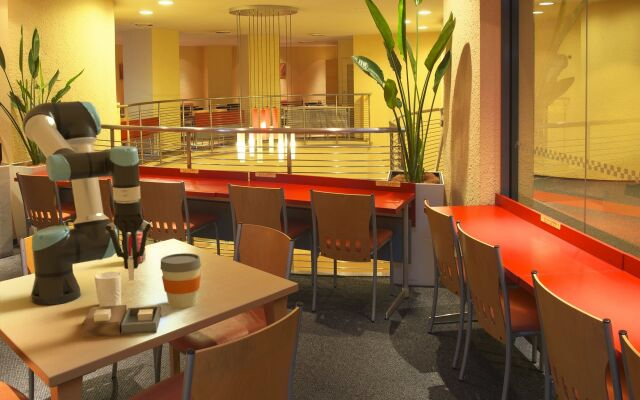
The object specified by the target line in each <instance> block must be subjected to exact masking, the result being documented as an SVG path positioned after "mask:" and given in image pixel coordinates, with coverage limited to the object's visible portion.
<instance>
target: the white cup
mask: <svg viewBox="0 0 640 400" xmlns="http://www.w3.org/2000/svg"><path fill="white" fill-rule="evenodd" d="M94 281H95V287H96V288H95V289H96V296H97V297H96V298H97V299H98V300H97V302H98V307H101V306H117V305H122V273H121V272H119V271H103V272H99V273H97V274H96V275H94Z"/></svg>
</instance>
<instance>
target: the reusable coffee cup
mask: <svg viewBox="0 0 640 400" xmlns="http://www.w3.org/2000/svg"><path fill="white" fill-rule="evenodd" d="M201 262H202V261H201V257H200V255H198V254H196V253H188V252H187V253H185V252H184V253H173V254H169V255H165V256H163V257H162V258H161V259H160V270H161V271H162V272H161V273H162V276H161V279H162V284H163V290H164V292H165V293H166V299H167V303H168V306H169V308H172V309H176V310H177V309H179V310H180V309H181V310H182V309H188V308H192V307H195V306H196V305H198V297H199V289H200V287H201V275H202V274H201V273H200V270H201V267H202V263H201Z"/></svg>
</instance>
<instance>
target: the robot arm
mask: <svg viewBox="0 0 640 400" xmlns="http://www.w3.org/2000/svg"><path fill="white" fill-rule="evenodd" d="M22 130H23V133H24V135H25V136H26V137H27V139H28V140H30V141H31V142H33V143H35V144H36V145H37V147H38V148H39V150H40V151H41V152H42V154H43V155H44V157H45V158H46V159H45V168H46V174H47V177H48V179H49V180H50V181H51V182H67V181H71V185H72V186H71V187H72V194H73V199H74V207H75V212H76V214H75V215H76V218H75V220H74V221H73V223H72V225H73V228H70V226H68V225H66V224H65V225H64V224H60V225H54V226H53V225H52V226H48V227H44V228H42V229H40V230H37V231H36V232H34V233H33V234H32V236H31V250H32V257H33V258H32V259H33V269H34V280H33V285H32V289H31V295H30V297H31V298H30V299H31V302H32V303H33V304H35V305H41V306H47V305H48V306H50V305H59V304H65V303H69V302H72V301H75V300H77V299H78V298H80V297H81V287H80V285H79V283H78V281H77V278H76V276H75V274H74V269H73V268H74V267H73V265H75V264H82V263H88V262H93V261H101V260H104V259H108V258H112V257H113V256H115V254H116V257H118V258H122V259H123V265H124V266H123V268H124V269H125V270H127V271H128V281H135V279H136V269H138V268H139V264H138V257H139V256H142V255H143V254H144V250H145V251H146V245H147V239H148V234H149V230H150V229H151V227H152V225H153V224H152V222H151V221H149V222H148V221H146V220H145V219H144V216H143V213H142V202H141V200H140V199H141V198H142V197H141V184H140V180H141V179H140V164H139V162H140V158H139V153H138V149H137V147H136V146H132V145H131V146H129V145H123V146H122V145H120V146H114V147H112V148H106V149H103V150H100V151H95V149H94V144H95V143H96V141H98V138H97V136H99V135H100V134H101V131H102V122H101V118H100V114H99V111H98V110H97V108H96V106H95V105H94V104H93V103H92V102H90V101H79V100H76V101H60V102H59V101H58V102H55V101H54V102H42V103H39V104H37V105H35V106H33V107H32V108H30V109H29V110H28V112H26V114H25V116H24V117H23V120H22ZM106 177H111V181H112V185H111V186H112V195H113V196H112V198H113V201H114V202H113V212H114V217H113V220H112V222H110V217H108V216H107V215H106V214H104V208H103V203H102V202H103V201H102V194H101V189H100V182H99V181H100V180H99V178H106ZM141 225H142V229H143V231H142V234H143V235H142V240H141V246H140V251H138V247H137V231H139V229H140V227H141ZM118 230H119V231H120V232H121V237H122V238H121V241H122V247H121V244H120V241H119V238H118V237H119V236H118V234H119V233H118ZM128 232H131V239H132V254H133V256H132V257H129V249H128Z"/></svg>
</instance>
